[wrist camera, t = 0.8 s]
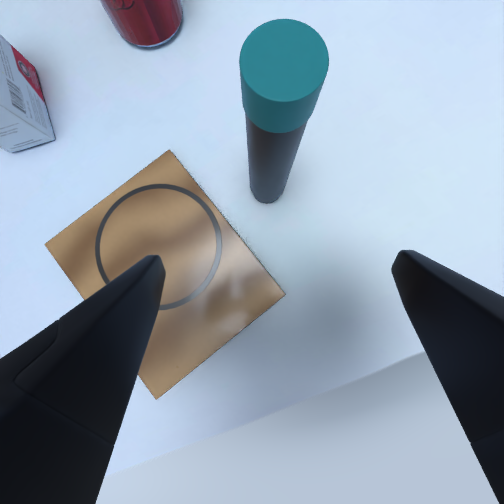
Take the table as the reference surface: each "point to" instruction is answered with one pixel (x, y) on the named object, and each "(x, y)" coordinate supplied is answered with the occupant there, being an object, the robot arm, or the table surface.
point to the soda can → (145, 20)
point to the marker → (279, 98)
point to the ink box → (21, 103)
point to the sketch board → (170, 266)
